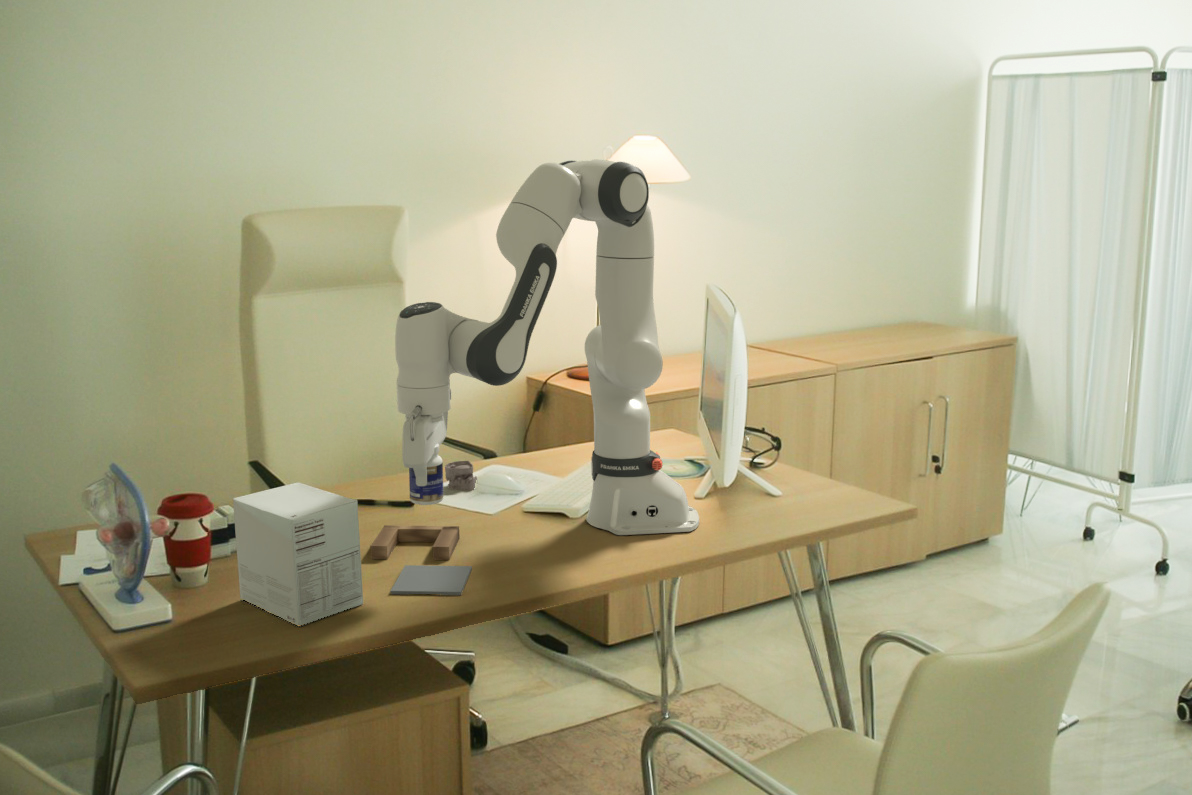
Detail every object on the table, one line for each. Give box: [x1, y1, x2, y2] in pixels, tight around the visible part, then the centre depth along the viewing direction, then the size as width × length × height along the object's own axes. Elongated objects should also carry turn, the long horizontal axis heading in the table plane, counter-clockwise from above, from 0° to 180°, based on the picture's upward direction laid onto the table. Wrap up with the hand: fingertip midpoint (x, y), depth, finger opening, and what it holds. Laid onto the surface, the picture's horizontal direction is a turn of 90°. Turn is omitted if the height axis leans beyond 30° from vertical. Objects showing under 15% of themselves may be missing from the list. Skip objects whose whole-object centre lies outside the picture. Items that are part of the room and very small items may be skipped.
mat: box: [390, 564, 473, 596], centre depth 206 cm, size 12×12×1 cm
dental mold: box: [444, 460, 478, 492], centre depth 260 cm, size 8×7×5 cm
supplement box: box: [232, 481, 364, 626], centre depth 195 cm, size 17×13×18 cm
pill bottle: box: [408, 444, 444, 506], centre depth 202 cm, size 6×6×10 cm
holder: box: [370, 524, 461, 561], centre depth 222 cm, size 14×12×2 cm
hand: (426, 478), depth 202 cm, fingers closed on pill bottle, 6 cm apart
